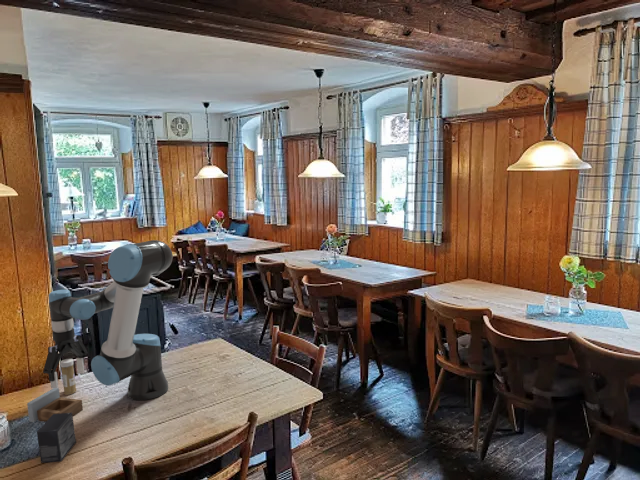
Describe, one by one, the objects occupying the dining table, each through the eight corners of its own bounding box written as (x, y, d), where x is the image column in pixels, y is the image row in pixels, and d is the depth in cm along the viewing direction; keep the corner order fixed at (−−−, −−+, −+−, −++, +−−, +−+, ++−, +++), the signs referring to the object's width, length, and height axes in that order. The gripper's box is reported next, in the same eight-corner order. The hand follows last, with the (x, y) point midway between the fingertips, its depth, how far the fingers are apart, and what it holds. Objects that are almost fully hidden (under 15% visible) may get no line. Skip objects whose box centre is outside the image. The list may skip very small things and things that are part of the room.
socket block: (82, 410, 170) (81, 399, 170) (61, 424, 161) (60, 413, 160) (60, 407, 173) (59, 397, 172) (38, 421, 163) (37, 410, 163)
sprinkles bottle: (77, 393, 184) (73, 360, 182) (64, 396, 182) (60, 363, 180) (75, 388, 188) (72, 357, 186) (63, 391, 186) (59, 360, 184)
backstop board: (60, 405, 174) (58, 388, 173) (34, 422, 163) (31, 403, 162) (56, 405, 175) (54, 387, 174) (29, 421, 163) (27, 403, 162)
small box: (56, 443, 149) (52, 413, 148) (77, 442, 150) (73, 411, 148) (39, 463, 139) (35, 431, 137) (61, 461, 139) (58, 429, 138)
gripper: (79, 318, 194) (83, 366, 197) (28, 339, 170) (34, 393, 173) (94, 319, 192) (98, 368, 195) (45, 341, 168) (50, 396, 171)
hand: (68, 380), depth 184 cm, fingers open, 13 cm apart
